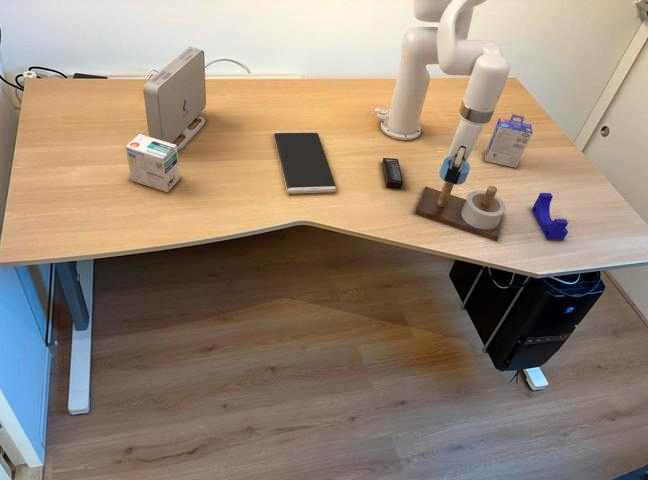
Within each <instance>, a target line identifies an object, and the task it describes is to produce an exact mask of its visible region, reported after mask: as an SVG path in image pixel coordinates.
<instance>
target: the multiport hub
mask: <svg viewBox="0 0 648 480" xmlns="http://www.w3.org/2000/svg"><path fill="white" fill-rule="evenodd" d="M381 169H382V174H383V180H384V184H385V188H386V189H391V190H403V189H402V188H403V185H404V179H403V178H404V177H403V174H402V170H401V166H400V162H399V159H398V158H393V157H392V158H391V157H383V158H382V161H381Z"/></svg>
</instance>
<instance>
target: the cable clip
mask: <svg viewBox="0 0 648 480" xmlns="http://www.w3.org/2000/svg"><path fill="white" fill-rule="evenodd" d="M553 198H554V196H553V194H552V193H551V192H540V193H539V194H538V197H537V198H536V200H535V202H534V203H533V205H532V208H531V212H532V213H533V215H534V217H535V219H536V221H537V224H538V225H539V227H540V229H541V230H542V233H543V234H544V236H545V238H546V241H564V240H565V239H566V237H567V236H568V233H569V230H568V229H567V227H568V224H569V222H568V220H567V218H566V219H565V218H554V219H553V220H552V217H551V212H550V210H551V203H552V200H553Z"/></svg>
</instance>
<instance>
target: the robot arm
mask: <svg viewBox="0 0 648 480" xmlns="http://www.w3.org/2000/svg"><path fill="white" fill-rule="evenodd" d="M486 1H487V0H414V1H413V15H414V18H415V19H416V20H418V21H420V22H424V23H437V24H438V26H415V27H412V28H409V29H408V30H406V31H405V33H404V34H403V37H402V41H401V51H400V61H399V68H398V72H397V76H396V80H395V84H394V89H393V93H392V97H391V102H390V104H389V105H390V106H389V109H382V108H379V107H375V110H374V112H373V114H374V115H376V116H375V118H376V119H379V120H381V122H380V129H381V130H382V132H383V133H384V134H385V135H387V136H388V137H390V138H392V139H396V140H399V141H411V140H412V141H413V140H414V139H417V138H418V137H419V136H420V135H421V133H422V132H421V131H422V128H421V125H420V124H419V120H420V118H421V114H422V110H423V107H424V104H425V100H426V96H427V93H428V90H429V86H430V83H431V76H430V72H429V70H428V69H427V66H428V65H439V68H440V71H441V72H442V73H443V74H445V75H447V76H470V77H469V80H468V83H467V86H466V89H465V92H464V95H463V98H462V100H461V104H460V106H459V110H458V113H457V114H458V117H459V118H460V120H459V122H458V125H457V127H456V130H455V133H454V136H453V139H452V142H451V145H450V148H449V149H448V150H449V151H448V154H447V157H451V158H453V160H452V162H451V165H450V166H449V168H448V171H447V173H446V176H445V179H444V180H445V181H447V182H450V183H453V184H457V182H458V179H459V176H460V174H461V171H462V170H461V168H462V166H463V163H464V162H468V161H469V158H470V156H471V155H472V152H473V150H474V147H475V145H476V144H477V141H478V138H479V136H480V134H481V131H482V129H483V127H484V126H487V125H488V124H489V123H491V120H492V117H493V116H494V112H495V110H496V107H497V105H498V103H499V100H500V98H501V95H502V93H503V90H504V87H505V85H506V82H507V81H508V77H509V74H510V72H511V65H510V63H509V61H508V60H507V59H506V58H505V57H504V54H503V51H502V47H501V46H500V44H499V43H498V42H496V41H493V40H480V39H479V40H478V39H468V36H469V32H470V28H471V23H472V19H473V14H474V9H475V7H477V6H479V5H482V4H483V3H485V2H486ZM454 160H456V161H455V163H454ZM461 161H462V162H461ZM460 162H461V165H460ZM453 163H454V164H453ZM444 180H443V181H444ZM445 181H444V182H445Z"/></svg>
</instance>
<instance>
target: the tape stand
mask: <svg viewBox="0 0 648 480" xmlns="http://www.w3.org/2000/svg"><path fill="white" fill-rule="evenodd" d="M454 186H455V185H454V184H450V183H447V182H445V181H444V183H443V186H442V189H441V190H439V189H435V188H432V187H429V186H424V188H423V192H422V193H421V197H420V198H419V201H418V203H417V206H416V209H415V211H414V214H415V215H418V216H421V217H423V218H427V219H430V220H433V221H435V222H439V223H441V224H445V225H448V226H451V227H454V228H456V229H460V230H463V231H466V232H469V233H472V234H475V235H478V236H481V237H483V238H487V239H490V240H493V241H498V238H499V237H500V232H501V228H502V223H503V218H504V214H505V211H506V204H505V202H504V200H503V199H501V198H500V197H499V196H498V195H496V194H497V192H498V188H497V187H496V186H494V185H488V186H487V187H486V190H474V191H471V192H470V193H469V194H468V195H467V197H466V198H463V197H459V196H456V195H453V194H452V191H453V189H454Z"/></svg>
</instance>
